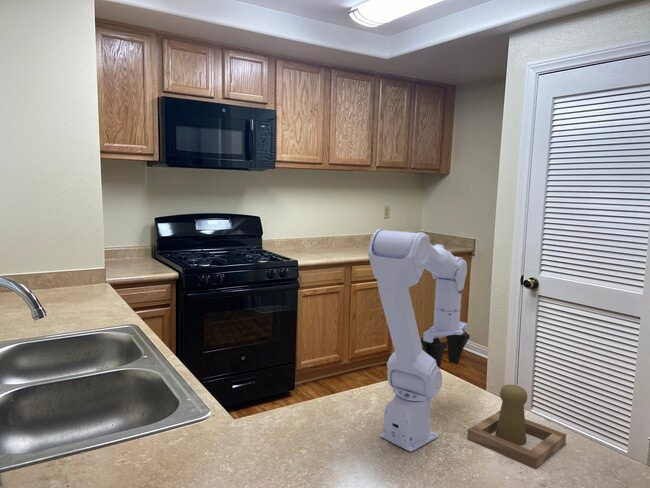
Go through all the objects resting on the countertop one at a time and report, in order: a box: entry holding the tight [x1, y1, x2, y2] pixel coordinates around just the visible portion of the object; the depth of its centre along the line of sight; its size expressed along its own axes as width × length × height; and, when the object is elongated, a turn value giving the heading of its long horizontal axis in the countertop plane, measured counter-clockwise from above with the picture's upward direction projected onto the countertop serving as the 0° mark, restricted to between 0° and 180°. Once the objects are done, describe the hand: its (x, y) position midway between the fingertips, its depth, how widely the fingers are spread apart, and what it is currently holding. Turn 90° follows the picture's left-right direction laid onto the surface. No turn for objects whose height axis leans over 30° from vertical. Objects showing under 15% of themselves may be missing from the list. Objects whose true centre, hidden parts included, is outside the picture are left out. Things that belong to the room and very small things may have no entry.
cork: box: [494, 384, 528, 447], centre depth 98 cm, size 6×6×11 cm
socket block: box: [466, 410, 567, 469], centre depth 97 cm, size 14×14×2 cm
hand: (444, 366), depth 109 cm, fingers open, 7 cm apart
